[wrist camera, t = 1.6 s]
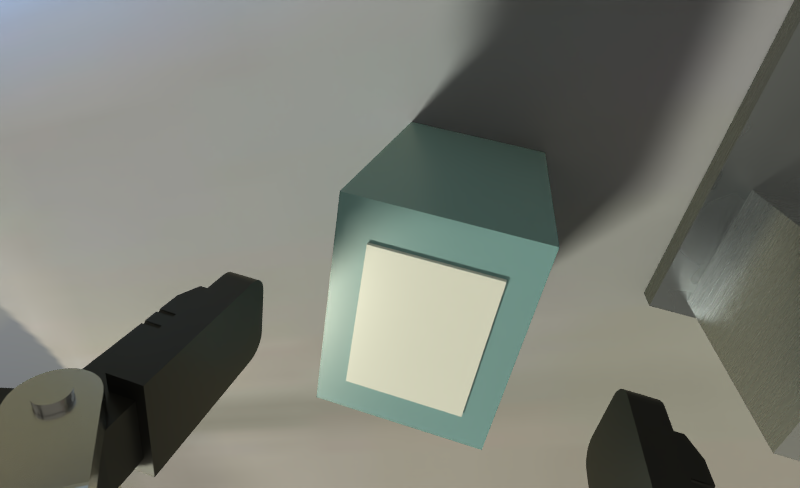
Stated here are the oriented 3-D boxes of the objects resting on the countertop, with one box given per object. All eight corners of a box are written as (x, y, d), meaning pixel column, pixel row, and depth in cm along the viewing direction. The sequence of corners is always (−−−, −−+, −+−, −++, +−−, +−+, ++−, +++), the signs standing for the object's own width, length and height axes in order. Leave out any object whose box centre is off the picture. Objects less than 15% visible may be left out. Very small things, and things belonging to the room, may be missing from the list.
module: (411, 121, 16) (338, 192, 9) (544, 152, 15) (559, 249, 9) (384, 270, 18) (314, 399, 12) (496, 301, 18) (481, 453, 12)
